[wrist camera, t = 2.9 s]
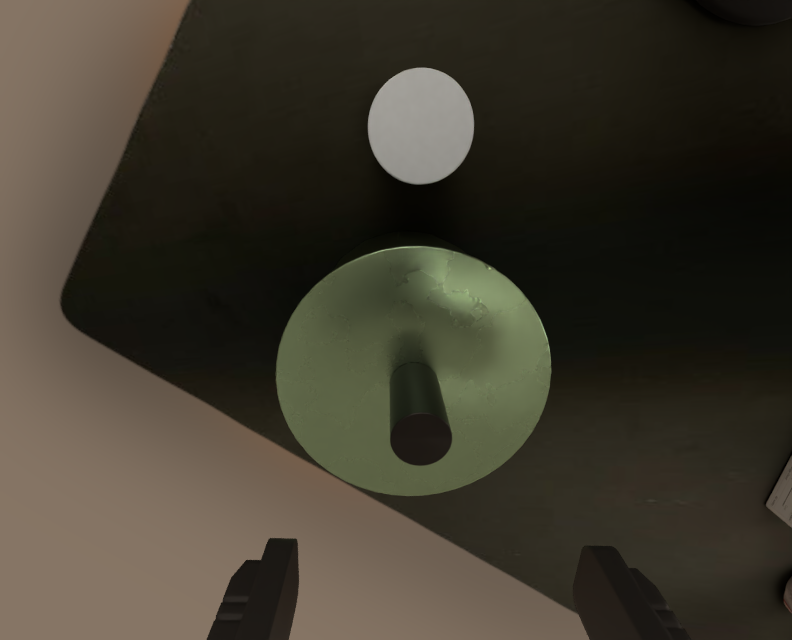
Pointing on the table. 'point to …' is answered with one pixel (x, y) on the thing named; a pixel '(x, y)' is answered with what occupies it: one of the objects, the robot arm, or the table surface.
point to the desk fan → (750, 10)
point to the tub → (420, 126)
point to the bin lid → (413, 370)
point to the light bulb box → (783, 495)
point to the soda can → (788, 595)
